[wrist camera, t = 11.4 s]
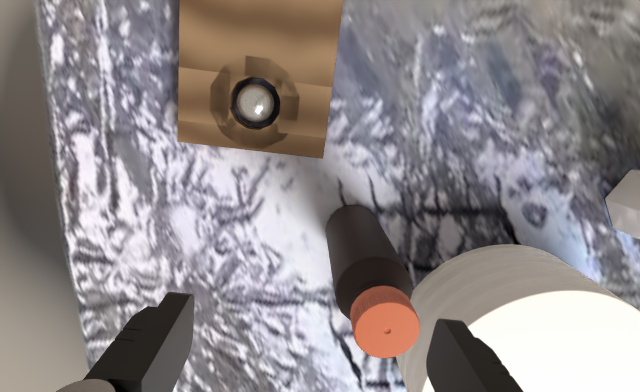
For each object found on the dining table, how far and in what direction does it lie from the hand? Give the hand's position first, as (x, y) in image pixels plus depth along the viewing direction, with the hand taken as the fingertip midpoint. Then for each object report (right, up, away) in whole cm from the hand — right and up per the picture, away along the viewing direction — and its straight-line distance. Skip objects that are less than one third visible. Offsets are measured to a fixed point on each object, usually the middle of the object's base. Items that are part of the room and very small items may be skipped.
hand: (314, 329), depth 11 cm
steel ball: (-7, +14, +26) cm, 31 cm away
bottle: (+4, 0, +33) cm, 34 cm away
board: (-6, +20, +27) cm, 34 cm away
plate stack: (+25, -15, +39) cm, 48 cm away
